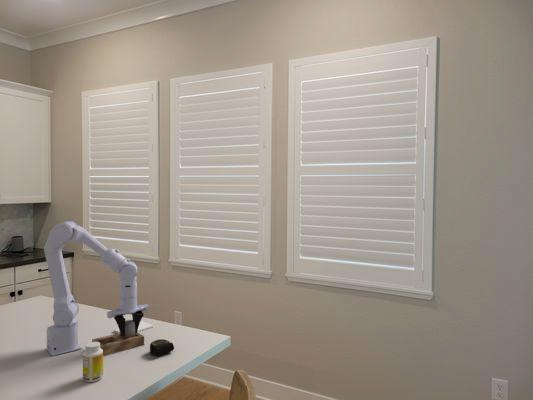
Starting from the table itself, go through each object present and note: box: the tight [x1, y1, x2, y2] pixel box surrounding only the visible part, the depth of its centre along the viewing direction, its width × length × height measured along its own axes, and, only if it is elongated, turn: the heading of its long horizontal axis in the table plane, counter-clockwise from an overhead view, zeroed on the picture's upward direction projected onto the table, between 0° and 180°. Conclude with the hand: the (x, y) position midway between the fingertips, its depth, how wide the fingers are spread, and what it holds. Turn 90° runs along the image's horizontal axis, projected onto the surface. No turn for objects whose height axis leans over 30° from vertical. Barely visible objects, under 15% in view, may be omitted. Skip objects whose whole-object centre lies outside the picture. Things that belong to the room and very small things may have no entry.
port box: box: [91, 332, 145, 357], centre depth 142 cm, size 15×9×3 cm, turn 131°
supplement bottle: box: [82, 341, 104, 383], centre depth 119 cm, size 6×6×10 cm
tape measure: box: [149, 339, 175, 356], centre depth 137 cm, size 7×7×4 cm
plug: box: [123, 319, 135, 339], centre depth 144 cm, size 4×4×7 cm
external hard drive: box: [112, 320, 154, 334], centre depth 159 cm, size 2×8×12 cm
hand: (128, 333), depth 145 cm, fingers open, 4 cm apart
